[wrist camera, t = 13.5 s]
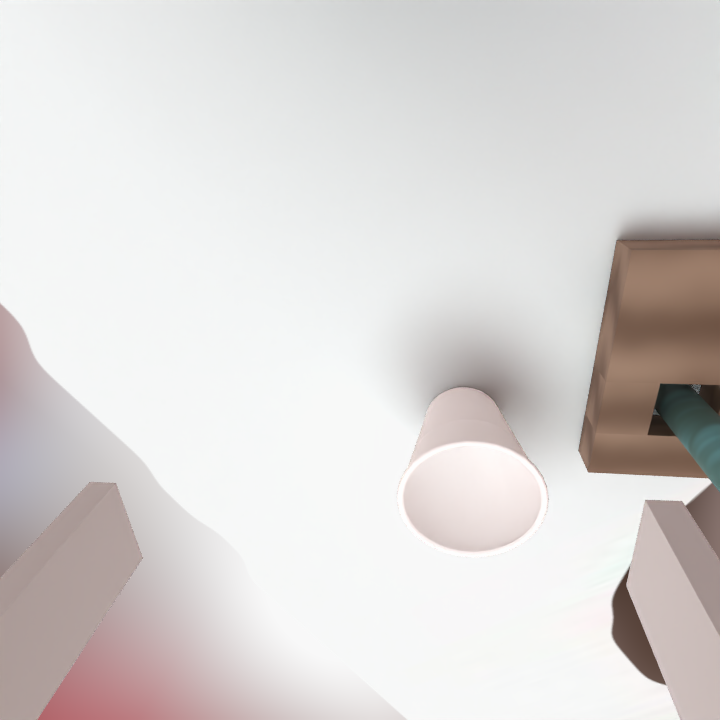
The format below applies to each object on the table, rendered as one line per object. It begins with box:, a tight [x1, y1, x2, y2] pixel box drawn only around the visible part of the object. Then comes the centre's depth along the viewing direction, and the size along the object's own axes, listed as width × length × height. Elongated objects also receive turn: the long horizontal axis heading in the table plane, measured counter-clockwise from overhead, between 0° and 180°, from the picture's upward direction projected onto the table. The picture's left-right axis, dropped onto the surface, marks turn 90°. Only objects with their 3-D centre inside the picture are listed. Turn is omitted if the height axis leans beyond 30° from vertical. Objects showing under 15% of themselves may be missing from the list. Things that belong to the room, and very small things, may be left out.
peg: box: [654, 383, 720, 492], centre depth 34 cm, size 3×3×14 cm
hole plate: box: [579, 240, 720, 478], centre depth 37 cm, size 18×12×3 cm, turn 2°
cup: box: [397, 387, 549, 557], centre depth 38 cm, size 10×10×11 cm
